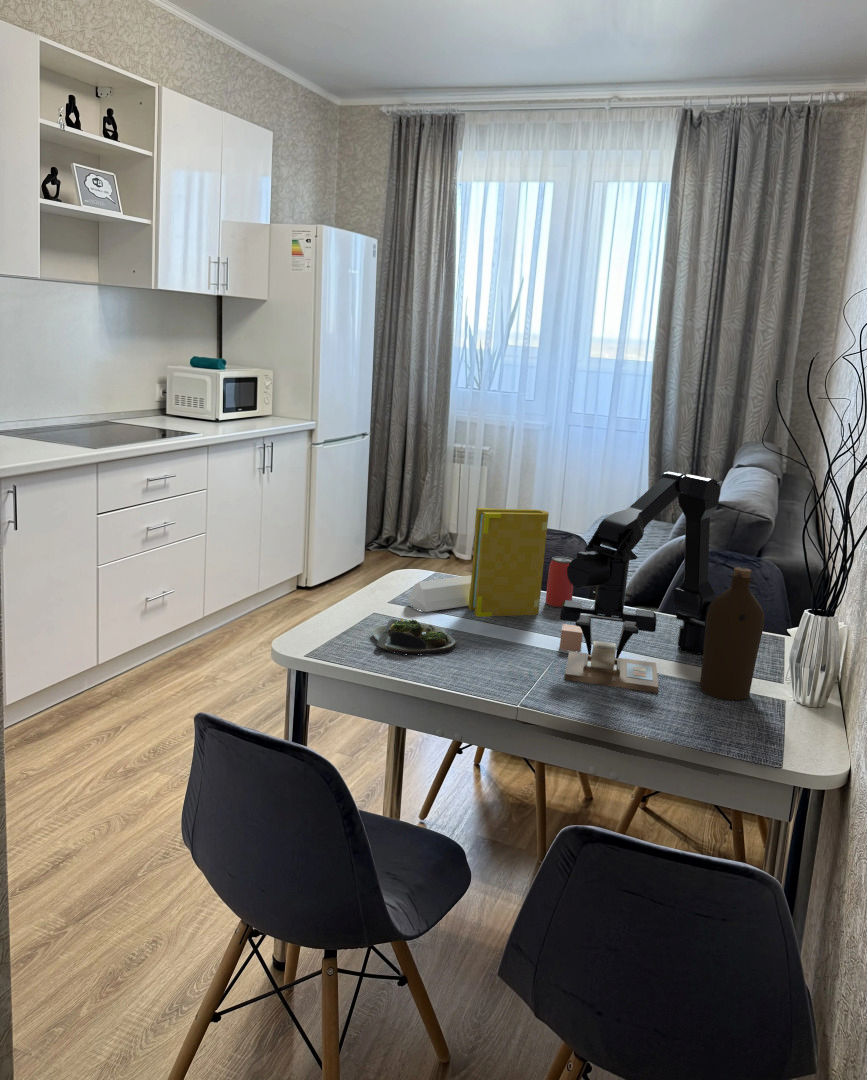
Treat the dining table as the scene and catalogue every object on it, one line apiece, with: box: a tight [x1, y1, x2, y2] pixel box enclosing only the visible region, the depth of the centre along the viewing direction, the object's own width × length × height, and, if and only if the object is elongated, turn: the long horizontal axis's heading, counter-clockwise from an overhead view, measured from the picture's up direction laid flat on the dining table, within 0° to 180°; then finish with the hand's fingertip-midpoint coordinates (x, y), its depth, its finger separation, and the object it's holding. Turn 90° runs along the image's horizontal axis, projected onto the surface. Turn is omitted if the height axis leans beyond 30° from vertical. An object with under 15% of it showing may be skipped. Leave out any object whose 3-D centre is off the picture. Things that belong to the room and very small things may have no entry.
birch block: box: [591, 640, 617, 670], centre depth 180 cm, size 4×4×4 cm
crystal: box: [408, 574, 472, 613], centre depth 219 cm, size 7×7×24 cm
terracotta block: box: [559, 623, 584, 652], centre depth 194 cm, size 4×4×4 cm
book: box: [467, 507, 550, 618], centre depth 214 cm, size 17×7×25 cm, turn 105°
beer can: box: [545, 556, 574, 609], centre depth 225 cm, size 7×7×12 cm
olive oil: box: [699, 566, 765, 701], centre depth 173 cm, size 11×11×25 cm
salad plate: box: [371, 618, 457, 656], centre depth 192 cm, size 19×18×5 cm
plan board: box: [563, 651, 659, 694], centre depth 180 cm, size 18×14×2 cm
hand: (603, 656), depth 180 cm, fingers open, 5 cm apart
